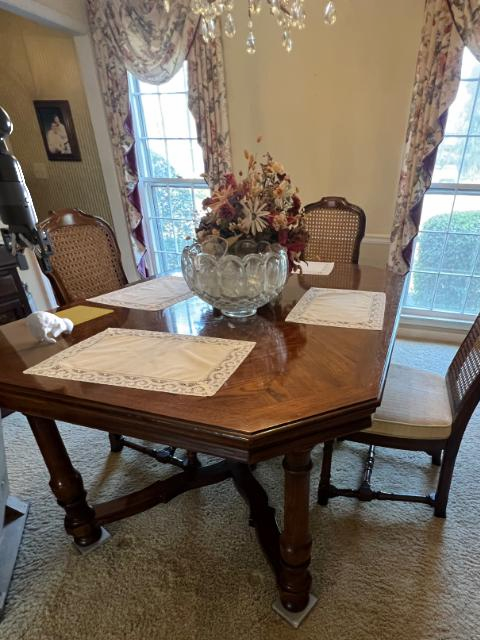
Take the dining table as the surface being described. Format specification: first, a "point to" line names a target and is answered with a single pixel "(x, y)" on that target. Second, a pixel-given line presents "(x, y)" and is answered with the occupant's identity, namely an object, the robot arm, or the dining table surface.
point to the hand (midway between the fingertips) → (36, 271)
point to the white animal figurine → (47, 326)
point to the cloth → (81, 314)
